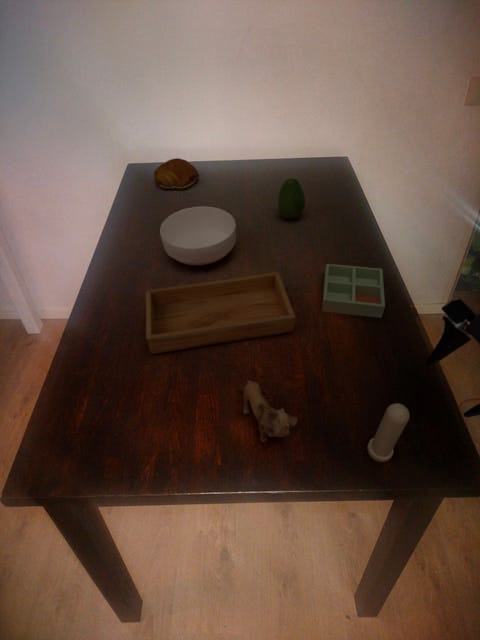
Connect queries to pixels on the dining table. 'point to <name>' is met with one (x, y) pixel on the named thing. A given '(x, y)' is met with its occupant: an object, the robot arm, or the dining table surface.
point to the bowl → (198, 235)
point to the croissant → (175, 174)
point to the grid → (353, 290)
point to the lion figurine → (266, 413)
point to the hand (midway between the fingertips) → (444, 389)
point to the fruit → (291, 199)
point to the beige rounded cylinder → (388, 432)
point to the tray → (217, 312)
